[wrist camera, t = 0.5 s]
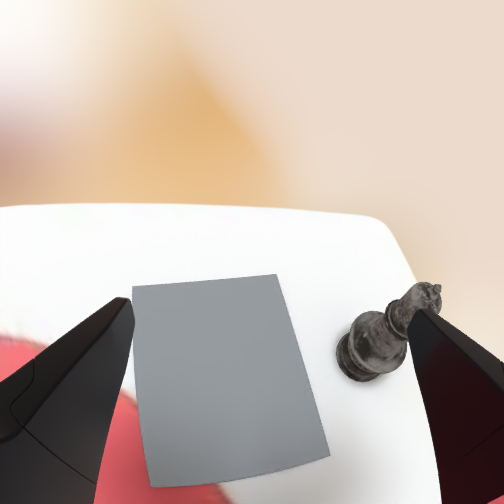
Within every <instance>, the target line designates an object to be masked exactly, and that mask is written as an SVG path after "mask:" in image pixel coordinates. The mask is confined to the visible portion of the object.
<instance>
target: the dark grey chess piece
mask: <svg viewBox="0 0 504 504" xmlns="http://www.w3.org/2000/svg"><path fill="white" fill-rule="evenodd" d="M440 292H441V285H439V284H435V285H434V286H433V285H432V284H430V283H427V282H419V283H416V284H415V285H413V286H412V287H411V288H410V289H409V290H408V292H407V293H406V294H405V295H404V296H403V297H402V298H401V299H399V300H394V301H392V302H390V303H389V304H388V306H387V307H386V310H385V313H382V312H378V311H369V312H365V313H363V314H361V315H360V316H358V317H357V318H356V319H355V321H354V322H353V323H352V326H351V329H350V332H349V333H347V334H346V335H344V336H343V337H342V339H341V340H340V341H339V343H338V346H337V352H336V356H337V361H338V364H339V366H340V368H341V370H342V371H343V372H344V373H345V374H346V375H347V376H348V377H349V378H351V379H353V380H355V381H360V382H366V381H370V380H372V379H375V378H376V377H377V376H378V375H379V374H380V373H382V374H383V373H390V372H392V371H394V370H396V369H397V368H398V367H399V366H400V365H401V364H402V363H403V361H404V359H405V357H406V352H407V342H409V340H408V336H407V326H408V324H409V322H410V320H411V318H412V316H413V314H414V312H415V310H417V309H418V308H428V309H430V310H431V311H433V312H434V313H436V314H437V315H438V314H439V312H440V310H441V305H442V300H441V296H440Z"/></svg>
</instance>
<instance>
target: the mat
mask: <svg viewBox="0 0 504 504" xmlns="http://www.w3.org/2000/svg"><path fill="white" fill-rule="evenodd" d="M132 308H133V312H134V316H135V328H134V333H133V355H134V371H135V384H136V395H137V405H138V414H139V422H140V429H141V436H142V443H143V449H144V455H145V461H146V466H147V471H148V476H149V481H150V486H151V488H153V487H179V486H192V485H203V484H211V483H219V482H226V481H232V480H238V479H244V478H249V477H254V476H259V475H264V474H268V473H272V472H276V471H280V470H284V469H288V468H292V467H295V466H299V465H302V464H306V463H309V462H312V461H315V460H318V459H321V458H324V457H327V456H330V451H329V448H328V444H327V441H326V437H325V434H324V430H323V427H322V423H321V420H320V416H319V413H318V409H317V406H316V403H315V399H314V396H313V392H312V389H311V386H310V382H309V379H308V376H307V372H306V369H305V366H304V362H303V359H302V356H301V352H300V349H299V346H298V342H297V339H296V336H295V333H294V329H293V326H292V323H291V320H290V316H289V313H288V310H287V307H286V303H285V300H284V297H283V294H282V291H281V287H280V284H279V281H278V278H277V275H276V274H272V275H262V276H252V277H241V278H230V279H219V280H208V281H196V282H184V283H171V284H158V285H145V286H132Z"/></svg>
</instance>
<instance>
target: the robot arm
mask: <svg viewBox="0 0 504 504" xmlns="http://www.w3.org/2000/svg"><path fill="white" fill-rule="evenodd" d="M134 328H135V316H134V312H133V308H132V304H131V301H130V299H128V298H123V297H116V298H115V299H113V300H112V301H110V302H109V303H107V304H106V305H105V306H103V307H102V308H100V309H99V310H98V311H96V312H95V313H93V314H92V315H91V316H89V317H88V318H86V319H85V320H84V321H82V322H81V323H80V324H78V325H77V326H76V327H74V328H73V329H71V330H70V331H69V332H67V333H66V334H65V335H63V336H62V337H61V338H59V339H58V340H57V341H55V342H54V343H53V344H51V345H50V346H49V347H47V348H46V349H45V350H43V351H42V352H41V353H39V354H38V355H37V356H36V357H35V359H32V360H30V361H29V362H28V363H26V364H25V365H24V366H22V367H21V368H20V369H18V370H17V371H16V372H14V373H13V374H12V375H10V376H9V377H7V378H6V379H4V380H3V381H1V382H0V504H93V503H94V497H95V491H96V484H97V480H98V475H99V470H100V466H101V461H102V457H103V452H104V448H105V444H106V440H107V436H108V432H109V428H110V424H111V420H112V416H113V413H114V409H115V405H116V402H117V398H118V395H119V391H120V388H121V385H122V381H123V378H124V375H125V371H126V367H127V363H128V357H129V352H130V347H131V342H132V338H133V333H134ZM407 336H408V340H409V345H410V349H411V354H412V359H413V364H414V369H415V373H416V377H417V380H418V384H419V387H420V391H421V395H422V398H423V402H424V406H425V410H426V414H427V418H428V423H429V427H430V432H431V436H432V441H433V446H434V452H435V457H436V463H437V469H438V476H439V484H440V491H441V500H442V504H504V363H503V362H502V361H500V360H499V359H498V358H496V357H495V356H494V355H493V354H491V353H490V352H489V351H487V350H486V349H484V348H483V347H482V346H480V345H479V344H478V343H476V342H475V341H474V340H472V339H470V337H468V336H467V335H465V334H464V333H463V332H461V331H460V330H458V329H457V328H455V327H454V326H453V325H451V324H450V323H449V322H447V321H446V320H444V319H443V318H441V317H440V316H439V315H437V314H436V313H434V312H433V311H431V310H430V309H428V308H418V309H417V310H415V312H414V314H413V316H412V318H411V320H410V322H409V324H408V326H407Z"/></svg>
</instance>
